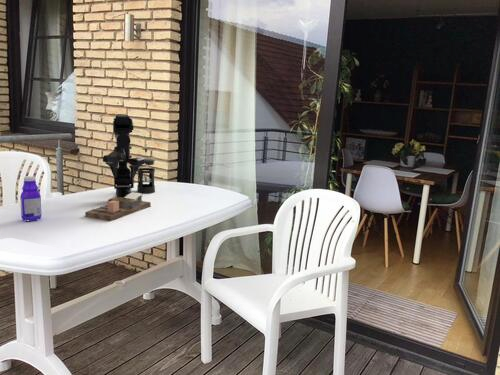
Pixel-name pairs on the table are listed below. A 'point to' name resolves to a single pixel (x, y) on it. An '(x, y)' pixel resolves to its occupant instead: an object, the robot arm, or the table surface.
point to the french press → (146, 187)
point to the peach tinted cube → (113, 206)
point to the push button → (123, 199)
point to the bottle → (30, 200)
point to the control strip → (124, 210)
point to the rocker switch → (133, 195)
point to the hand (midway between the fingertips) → (123, 179)
